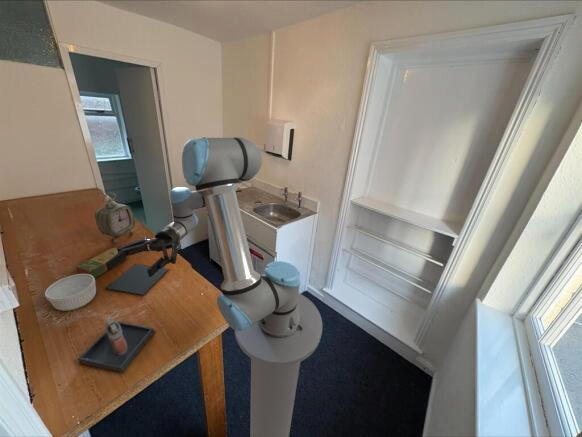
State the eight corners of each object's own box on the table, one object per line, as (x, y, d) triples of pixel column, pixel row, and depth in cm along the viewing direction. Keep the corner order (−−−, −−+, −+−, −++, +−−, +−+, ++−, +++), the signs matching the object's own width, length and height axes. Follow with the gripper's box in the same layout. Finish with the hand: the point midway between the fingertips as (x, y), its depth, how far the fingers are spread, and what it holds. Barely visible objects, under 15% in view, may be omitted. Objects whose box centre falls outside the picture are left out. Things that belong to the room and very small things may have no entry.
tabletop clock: (115, 245, 118) (101, 199, 107) (100, 242, 119) (85, 196, 109) (137, 232, 131) (127, 190, 120) (123, 229, 132) (112, 187, 122)
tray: (154, 332, 76) (153, 327, 75) (122, 372, 64) (120, 368, 64) (117, 324, 78) (116, 320, 77) (80, 363, 66) (77, 358, 65)
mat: (168, 270, 104) (168, 269, 104) (142, 295, 90) (142, 294, 90) (135, 264, 106) (135, 264, 105) (105, 288, 91) (105, 288, 91)
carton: (128, 258, 109) (126, 251, 107) (92, 279, 95) (89, 271, 93) (114, 254, 111) (112, 246, 109) (77, 274, 97) (74, 266, 95)
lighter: (109, 340, 72) (100, 317, 68) (122, 333, 74) (114, 311, 70) (116, 358, 67) (107, 335, 63) (130, 350, 70) (122, 327, 65)
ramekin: (78, 284, 92) (73, 270, 89) (108, 290, 91) (103, 276, 88) (41, 310, 80) (33, 295, 77) (74, 317, 79) (67, 302, 76)
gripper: (202, 248, 90) (168, 286, 71) (142, 239, 92) (94, 273, 73) (200, 231, 86) (165, 266, 67) (138, 222, 88) (87, 253, 69)
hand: (128, 270), depth 70 cm, fingers open, 13 cm apart
